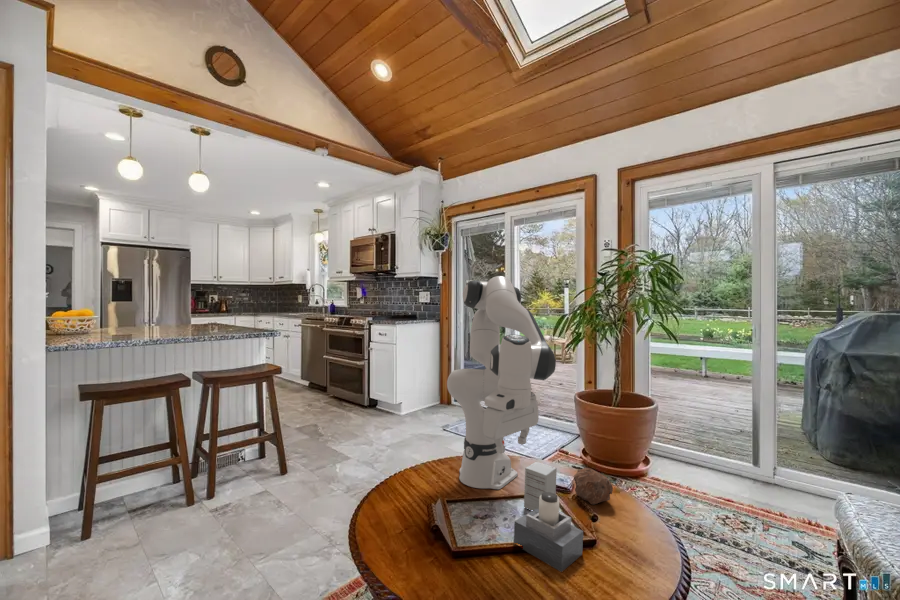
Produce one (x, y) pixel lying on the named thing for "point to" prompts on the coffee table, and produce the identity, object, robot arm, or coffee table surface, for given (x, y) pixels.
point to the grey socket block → (549, 539)
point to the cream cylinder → (549, 508)
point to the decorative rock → (592, 486)
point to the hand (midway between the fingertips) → (511, 447)
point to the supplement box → (538, 483)
